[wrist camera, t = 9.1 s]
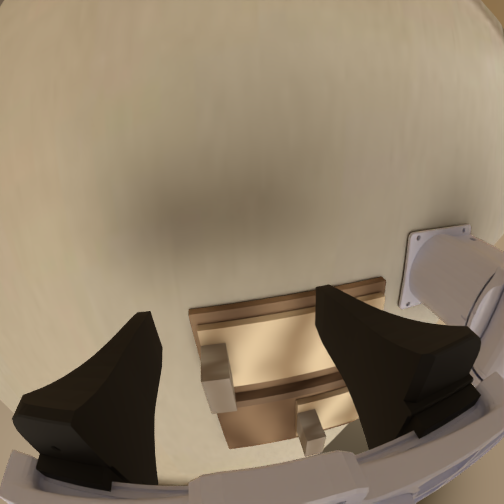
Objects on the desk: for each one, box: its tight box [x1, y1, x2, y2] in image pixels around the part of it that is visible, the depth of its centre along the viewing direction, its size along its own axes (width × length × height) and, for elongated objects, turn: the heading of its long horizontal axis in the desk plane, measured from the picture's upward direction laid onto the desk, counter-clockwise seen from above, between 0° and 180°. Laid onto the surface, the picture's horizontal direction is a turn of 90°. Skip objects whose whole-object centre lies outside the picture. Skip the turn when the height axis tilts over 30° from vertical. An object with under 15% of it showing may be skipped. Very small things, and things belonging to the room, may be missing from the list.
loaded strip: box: [295, 387, 359, 457], centre depth 27 cm, size 16×7×5 cm, turn 95°
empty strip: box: [197, 292, 385, 414], centre depth 21 cm, size 16×7×5 cm, turn 95°
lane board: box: [189, 277, 386, 449], centre depth 26 cm, size 17×22×2 cm
